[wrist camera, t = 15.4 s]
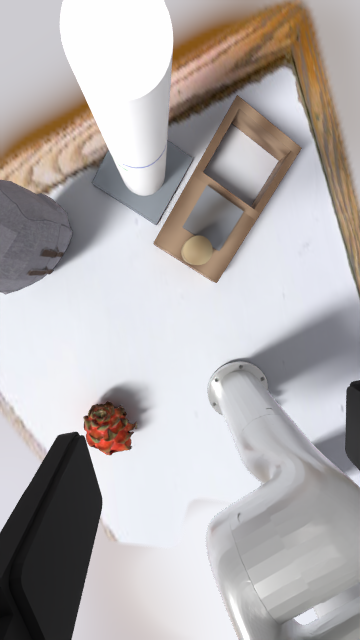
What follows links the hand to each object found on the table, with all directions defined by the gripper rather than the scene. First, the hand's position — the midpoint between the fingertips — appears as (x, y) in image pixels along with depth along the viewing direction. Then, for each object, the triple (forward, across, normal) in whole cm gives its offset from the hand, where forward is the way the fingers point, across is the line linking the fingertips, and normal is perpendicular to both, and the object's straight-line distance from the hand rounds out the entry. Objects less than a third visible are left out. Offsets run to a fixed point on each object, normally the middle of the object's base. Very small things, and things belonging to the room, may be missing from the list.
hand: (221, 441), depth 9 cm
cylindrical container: (+38, +1, -21) cm, 43 cm away
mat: (+38, +2, -21) cm, 44 cm away
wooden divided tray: (+38, -11, -14) cm, 42 cm away
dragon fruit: (+39, +16, +23) cm, 48 cm away
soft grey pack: (+38, +19, -11) cm, 45 cm away
